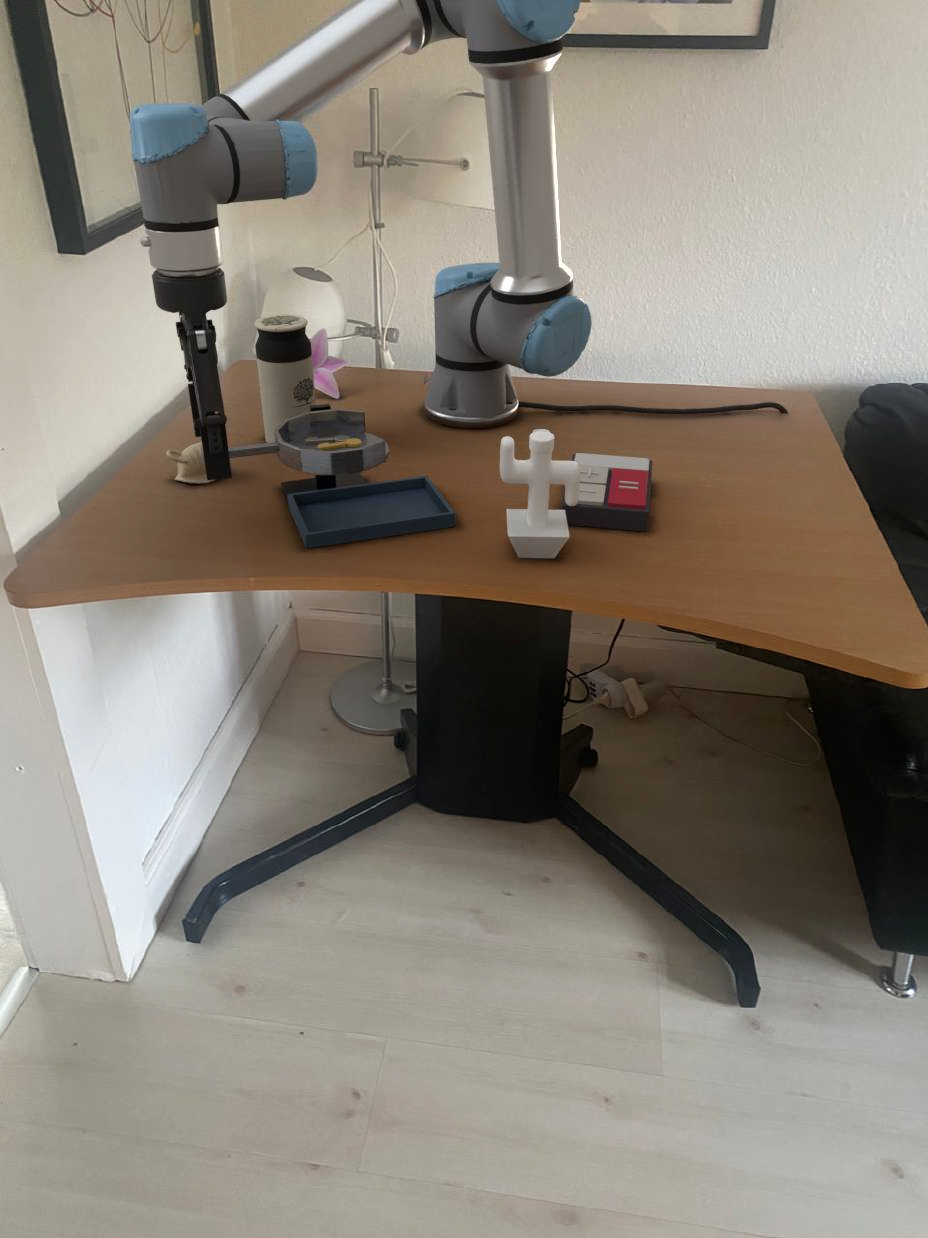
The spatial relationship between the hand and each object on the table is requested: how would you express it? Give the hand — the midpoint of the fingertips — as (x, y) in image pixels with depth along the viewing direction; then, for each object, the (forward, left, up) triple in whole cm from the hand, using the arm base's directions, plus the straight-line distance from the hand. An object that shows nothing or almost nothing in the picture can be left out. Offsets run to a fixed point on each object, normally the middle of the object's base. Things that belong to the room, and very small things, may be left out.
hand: (212, 455), depth 113 cm
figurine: (-36, +15, -11) cm, 40 cm away
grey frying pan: (-10, 0, -2) cm, 10 cm away
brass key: (-15, -1, -1) cm, 15 cm away
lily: (-21, -49, -11) cm, 54 cm away
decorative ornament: (+1, -19, -11) cm, 22 cm away
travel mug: (-14, -29, -11) cm, 34 cm away
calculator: (-50, +6, -11) cm, 51 cm away
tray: (-19, 0, -11) cm, 22 cm away
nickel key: (-14, -3, -1) cm, 15 cm away
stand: (-15, -10, -11) cm, 21 cm away
